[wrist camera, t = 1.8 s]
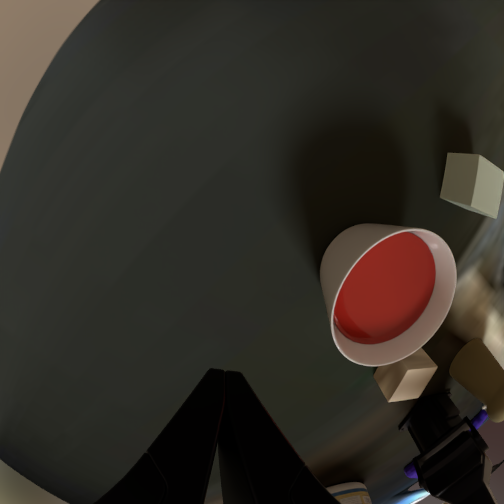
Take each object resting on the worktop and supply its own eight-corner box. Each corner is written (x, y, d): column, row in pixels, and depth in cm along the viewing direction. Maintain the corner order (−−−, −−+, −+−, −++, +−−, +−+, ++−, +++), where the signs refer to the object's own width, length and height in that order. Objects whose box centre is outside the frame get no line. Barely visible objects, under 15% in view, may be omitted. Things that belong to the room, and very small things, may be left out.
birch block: (402, 373, 25) (418, 397, 21) (372, 375, 24) (388, 402, 20) (418, 343, 23) (437, 366, 20) (388, 344, 23) (408, 369, 19)
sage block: (466, 209, 19) (496, 219, 16) (439, 197, 19) (470, 206, 15) (474, 168, 18) (504, 172, 14) (447, 152, 18) (479, 154, 14)
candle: (295, 317, 21) (315, 370, 15) (315, 200, 18) (351, 218, 12) (391, 317, 22) (428, 359, 16) (418, 217, 19) (470, 238, 13)
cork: (474, 331, 24) (528, 382, 13) (486, 346, 25) (531, 392, 15) (442, 369, 25) (489, 428, 15) (457, 381, 27) (497, 431, 16)
